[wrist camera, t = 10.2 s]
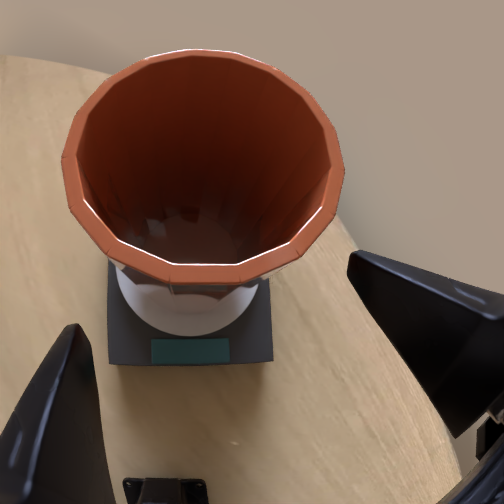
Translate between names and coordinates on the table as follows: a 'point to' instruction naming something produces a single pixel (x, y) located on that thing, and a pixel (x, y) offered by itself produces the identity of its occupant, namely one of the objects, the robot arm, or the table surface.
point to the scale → (186, 329)
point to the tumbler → (201, 174)
